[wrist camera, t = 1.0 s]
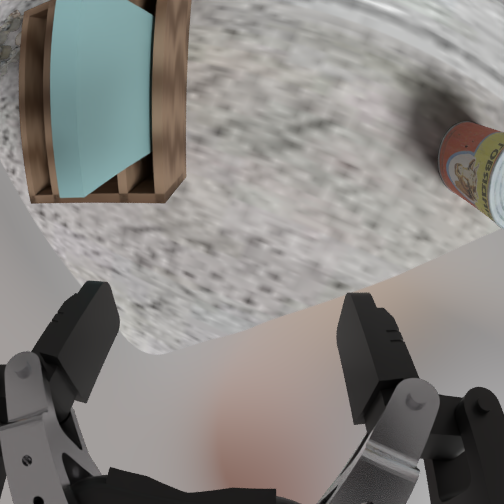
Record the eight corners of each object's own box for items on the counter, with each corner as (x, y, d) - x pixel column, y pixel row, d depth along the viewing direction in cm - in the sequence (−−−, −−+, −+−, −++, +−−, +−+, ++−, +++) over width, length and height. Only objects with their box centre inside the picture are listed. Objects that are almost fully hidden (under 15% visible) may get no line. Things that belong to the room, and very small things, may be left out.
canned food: (433, 125, 32) (487, 144, 22) (490, 118, 31) (545, 136, 20) (440, 201, 38) (486, 240, 27) (493, 188, 36) (541, 220, 25)
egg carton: (33, 9, 24) (17, 6, 20) (41, 44, 27) (24, 43, 24) (-9, 48, 25) (-25, 49, 22) (-2, 82, 29) (-18, 85, 25)
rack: (66, 20, 26) (24, 12, 17) (191, -5, 26) (170, -32, 17) (69, 179, 37) (30, 203, 29) (186, 177, 37) (165, 203, 29)
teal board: (157, 30, 27) (58, -13, 9) (173, 28, 27) (85, -23, 9) (155, 140, 34) (59, 197, 16) (170, 140, 34) (84, 197, 16)
